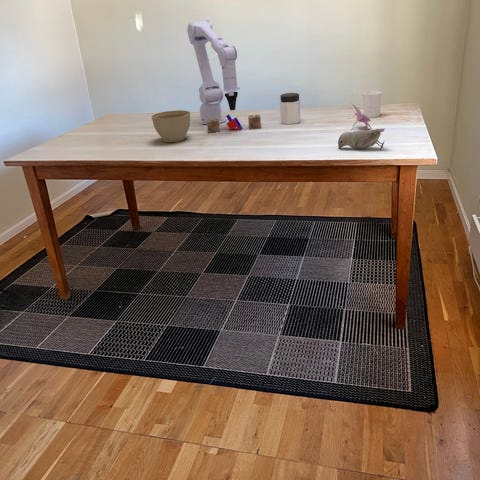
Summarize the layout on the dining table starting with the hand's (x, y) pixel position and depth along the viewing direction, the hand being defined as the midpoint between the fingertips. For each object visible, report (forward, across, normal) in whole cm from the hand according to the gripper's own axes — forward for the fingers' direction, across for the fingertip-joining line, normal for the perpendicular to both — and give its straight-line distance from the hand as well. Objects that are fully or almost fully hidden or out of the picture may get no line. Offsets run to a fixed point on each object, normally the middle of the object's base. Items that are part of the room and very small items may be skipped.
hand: (232, 110), depth 215 cm
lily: (+9, -19, -51) cm, 55 cm away
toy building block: (+9, 0, 0) cm, 9 cm away
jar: (+9, +4, -25) cm, 27 cm away
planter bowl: (+9, -8, +26) cm, 28 cm away
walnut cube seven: (+8, 0, +9) cm, 12 cm away
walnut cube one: (+9, 0, -9) cm, 12 cm away
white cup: (+9, 0, -60) cm, 61 cm away
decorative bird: (+9, -47, -44) cm, 65 cm away
